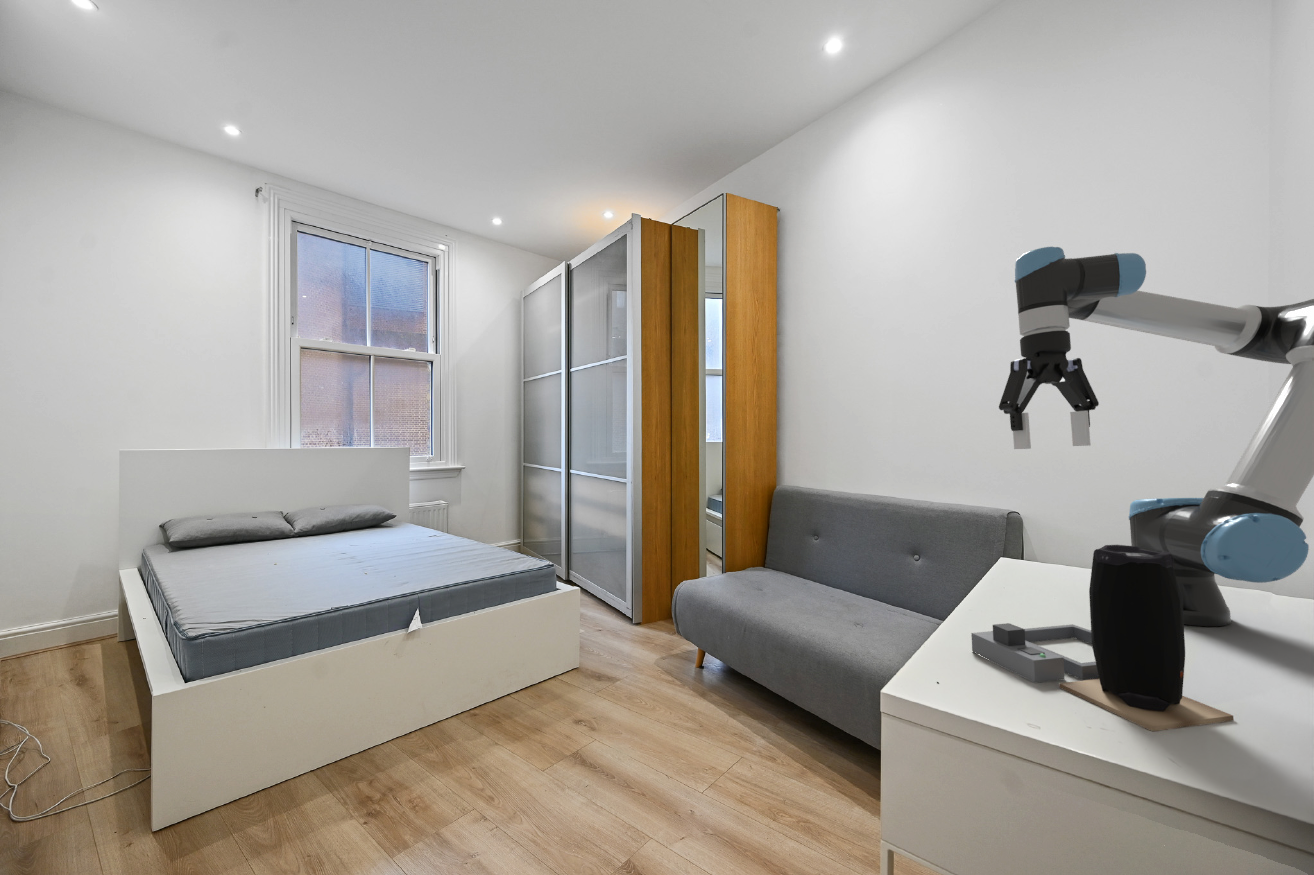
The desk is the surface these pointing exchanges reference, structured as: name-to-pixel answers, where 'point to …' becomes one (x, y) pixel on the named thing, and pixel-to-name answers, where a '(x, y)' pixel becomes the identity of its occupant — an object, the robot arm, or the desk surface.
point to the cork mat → (1152, 720)
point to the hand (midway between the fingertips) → (1052, 447)
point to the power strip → (1018, 653)
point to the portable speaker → (1137, 626)
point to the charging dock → (1070, 666)
